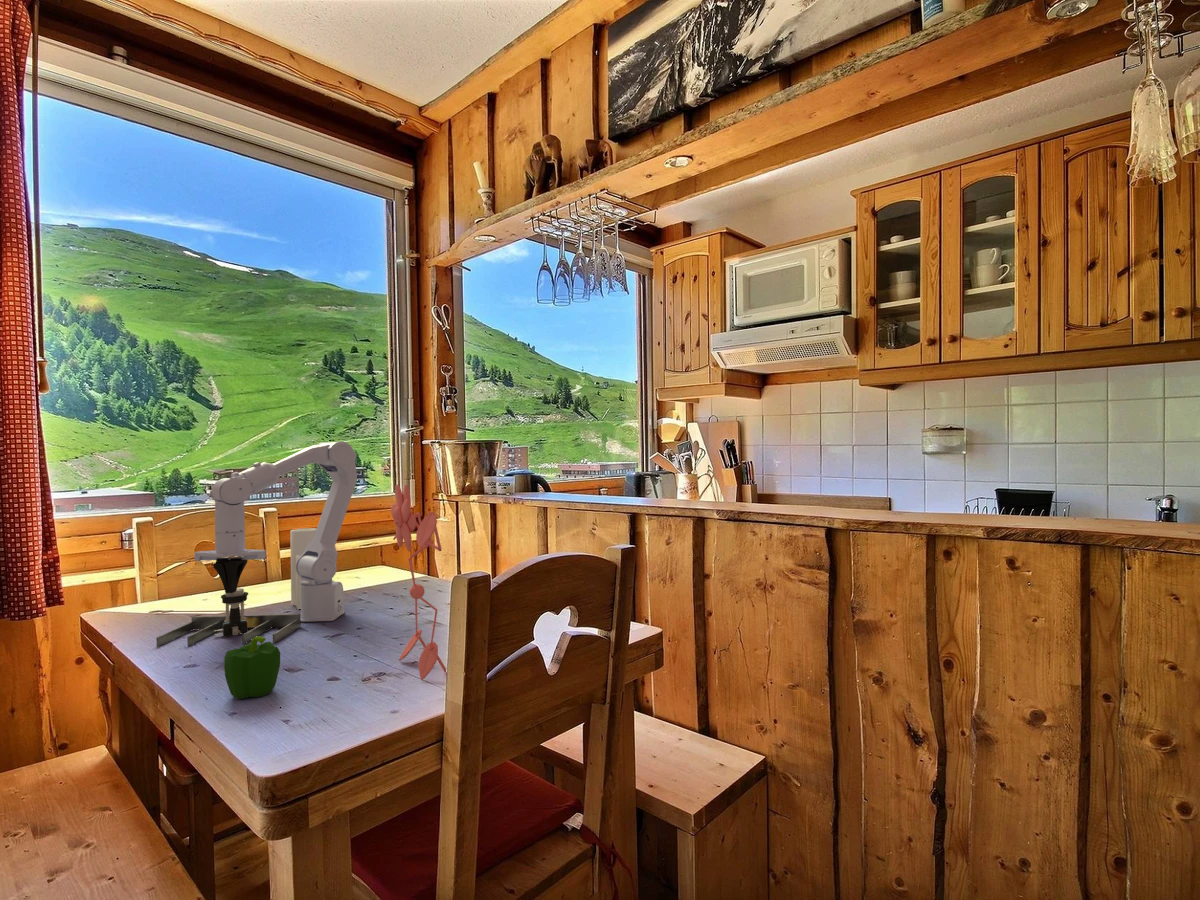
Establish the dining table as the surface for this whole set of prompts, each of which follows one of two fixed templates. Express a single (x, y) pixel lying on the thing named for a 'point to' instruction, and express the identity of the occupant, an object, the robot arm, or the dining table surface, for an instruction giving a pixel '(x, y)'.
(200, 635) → the rack
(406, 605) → the dining table surface
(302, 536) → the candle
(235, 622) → the push button
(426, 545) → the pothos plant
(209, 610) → the dining table surface
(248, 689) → the bell pepper
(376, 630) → the dining table surface
